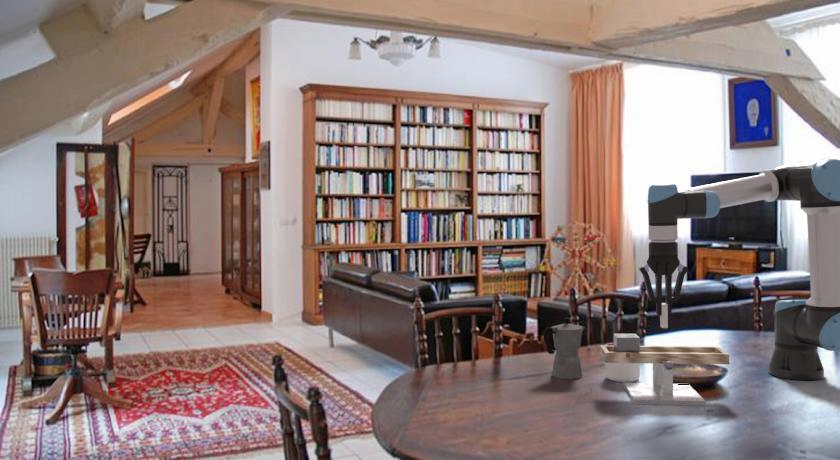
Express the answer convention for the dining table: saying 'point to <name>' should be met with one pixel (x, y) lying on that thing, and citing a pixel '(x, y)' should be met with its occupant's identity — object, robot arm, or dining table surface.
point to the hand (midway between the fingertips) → (664, 327)
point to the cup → (622, 371)
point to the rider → (626, 343)
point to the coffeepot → (565, 349)
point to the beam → (667, 355)
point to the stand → (663, 389)
